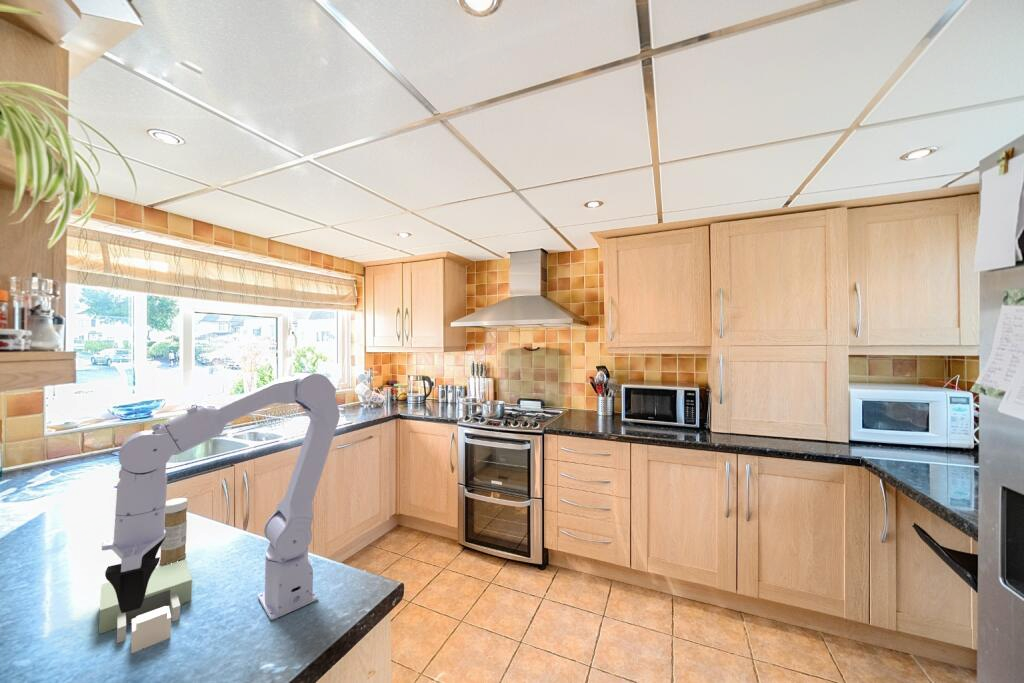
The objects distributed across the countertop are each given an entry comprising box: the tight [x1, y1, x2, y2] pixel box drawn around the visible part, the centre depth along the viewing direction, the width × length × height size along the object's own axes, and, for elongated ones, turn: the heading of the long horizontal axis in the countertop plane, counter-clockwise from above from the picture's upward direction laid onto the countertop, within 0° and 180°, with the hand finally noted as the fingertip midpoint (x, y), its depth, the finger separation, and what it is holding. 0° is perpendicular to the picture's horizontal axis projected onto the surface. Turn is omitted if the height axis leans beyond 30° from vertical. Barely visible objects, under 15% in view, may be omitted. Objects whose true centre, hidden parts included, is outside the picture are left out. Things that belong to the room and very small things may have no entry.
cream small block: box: [130, 606, 172, 654], centre depth 63 cm, size 4×5×4 cm
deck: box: [98, 559, 193, 644], centre depth 70 cm, size 15×12×4 cm
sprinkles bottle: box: [159, 497, 189, 565], centre depth 86 cm, size 5×5×13 cm
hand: (135, 596), depth 59 cm, fingers open, 7 cm apart
